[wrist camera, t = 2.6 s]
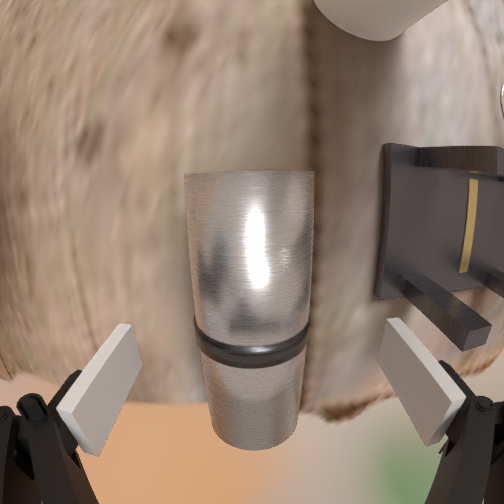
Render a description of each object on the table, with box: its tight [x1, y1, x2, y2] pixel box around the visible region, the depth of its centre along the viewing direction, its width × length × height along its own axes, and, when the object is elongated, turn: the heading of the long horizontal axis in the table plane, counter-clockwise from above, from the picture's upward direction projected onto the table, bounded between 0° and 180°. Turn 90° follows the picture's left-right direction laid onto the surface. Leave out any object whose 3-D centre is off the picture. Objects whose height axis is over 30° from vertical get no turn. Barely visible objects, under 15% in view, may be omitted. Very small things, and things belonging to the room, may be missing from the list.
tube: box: [184, 171, 314, 450], centre depth 15 cm, size 16×6×6 cm, turn 1°
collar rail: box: [374, 143, 504, 352], centre depth 13 cm, size 15×10×8 cm, turn 91°
